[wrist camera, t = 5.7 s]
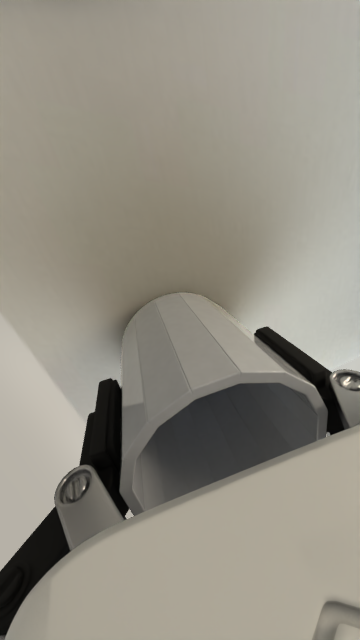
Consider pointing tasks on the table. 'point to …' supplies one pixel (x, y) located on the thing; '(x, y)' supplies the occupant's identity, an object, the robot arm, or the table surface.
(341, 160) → the table surface
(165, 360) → the pot
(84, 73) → the table surface
